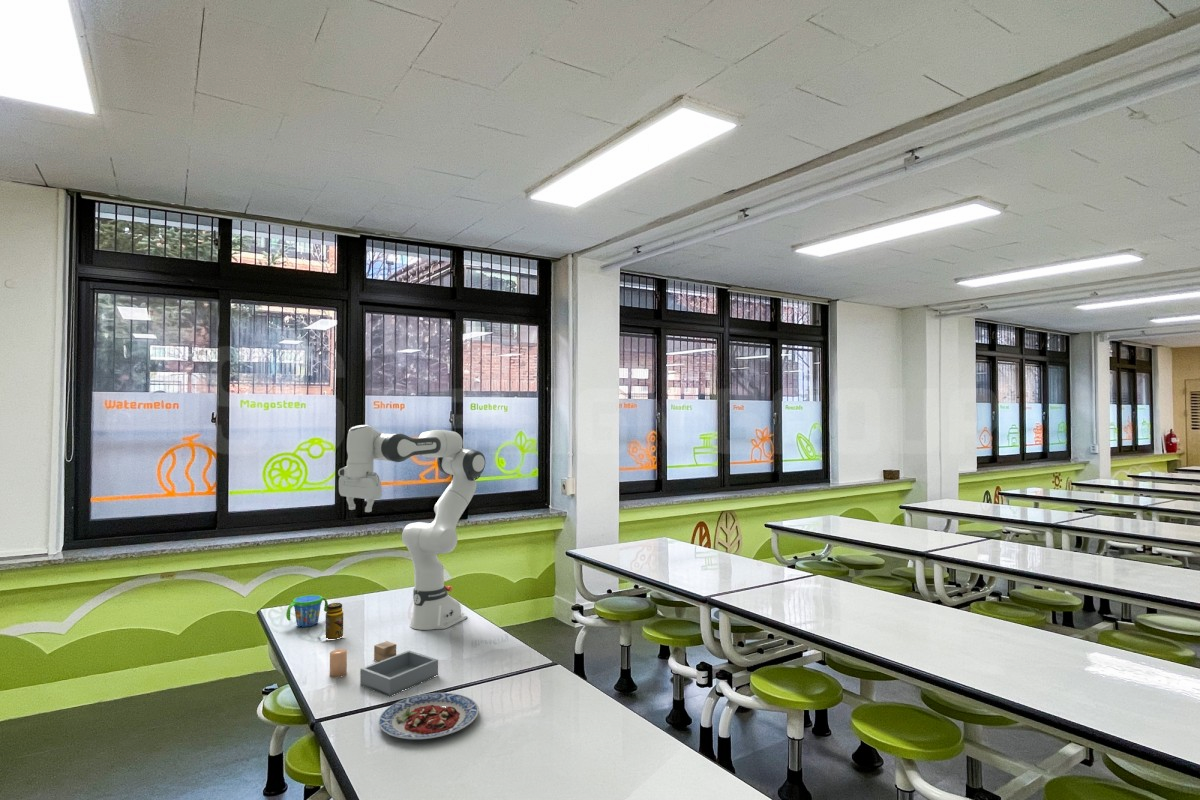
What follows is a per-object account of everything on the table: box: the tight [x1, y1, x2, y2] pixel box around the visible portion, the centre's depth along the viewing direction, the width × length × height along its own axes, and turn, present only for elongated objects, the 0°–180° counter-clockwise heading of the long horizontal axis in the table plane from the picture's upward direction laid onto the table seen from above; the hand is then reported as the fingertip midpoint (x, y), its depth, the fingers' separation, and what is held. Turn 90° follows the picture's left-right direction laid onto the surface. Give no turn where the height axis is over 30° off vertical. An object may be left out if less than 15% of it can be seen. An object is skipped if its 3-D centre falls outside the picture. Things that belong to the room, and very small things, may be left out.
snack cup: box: [285, 594, 329, 628], centre depth 250 cm, size 16×10×10 cm
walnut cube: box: [373, 640, 397, 662], centre depth 214 cm, size 5×5×5 cm
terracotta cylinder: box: [329, 648, 348, 679], centre depth 202 cm, size 5×5×7 cm
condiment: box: [325, 602, 344, 639], centre depth 235 cm, size 7×8×12 cm
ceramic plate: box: [378, 692, 480, 740], centre depth 171 cm, size 26×26×3 cm
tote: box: [359, 650, 439, 698], centre depth 197 cm, size 18×14×5 cm
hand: (360, 510), depth 225 cm, fingers open, 8 cm apart
